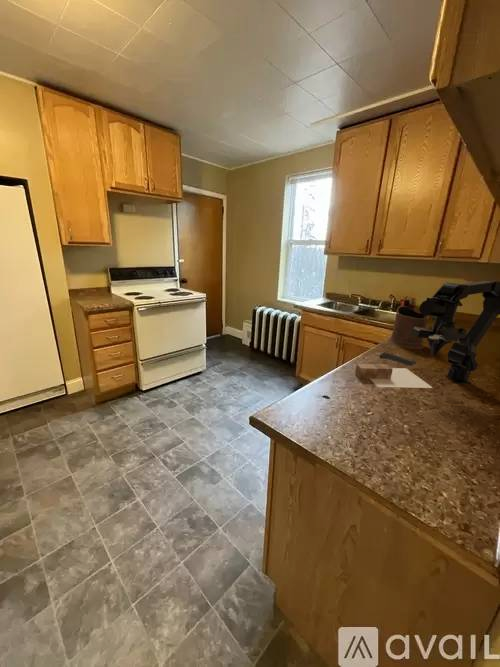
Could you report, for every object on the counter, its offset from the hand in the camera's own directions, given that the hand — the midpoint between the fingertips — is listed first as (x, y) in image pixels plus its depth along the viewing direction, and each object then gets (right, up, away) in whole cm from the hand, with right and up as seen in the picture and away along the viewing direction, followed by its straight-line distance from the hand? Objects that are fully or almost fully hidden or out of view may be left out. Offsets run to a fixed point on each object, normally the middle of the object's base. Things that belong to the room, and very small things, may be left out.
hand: (432, 355), depth 110 cm
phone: (0, -5, +26) cm, 27 cm away
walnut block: (-15, -7, +6) cm, 17 cm away
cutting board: (-12, -10, +7) cm, 17 cm away
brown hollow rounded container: (+19, +2, +50) cm, 54 cm away
